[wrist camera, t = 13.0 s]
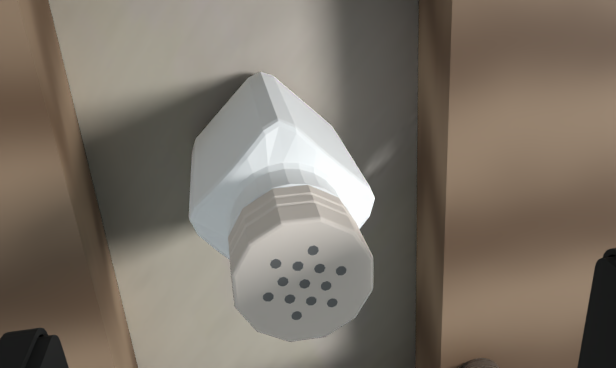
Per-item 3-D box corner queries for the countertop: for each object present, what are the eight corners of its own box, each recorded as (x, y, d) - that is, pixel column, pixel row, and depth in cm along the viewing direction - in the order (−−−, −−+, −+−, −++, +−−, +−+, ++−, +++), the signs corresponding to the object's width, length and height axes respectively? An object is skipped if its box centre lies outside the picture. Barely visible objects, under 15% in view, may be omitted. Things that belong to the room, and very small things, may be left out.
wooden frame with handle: (-306, -242, 15) (-419, -278, 12) (643, -280, 18) (722, -317, 15) (19, 538, 27) (-1, 606, 25) (545, 438, 30) (578, 489, 28)
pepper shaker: (185, 145, 21) (172, 301, 12) (258, 60, 20) (298, 163, 12) (269, 207, 23) (310, 383, 14) (340, 130, 22) (429, 267, 13)
